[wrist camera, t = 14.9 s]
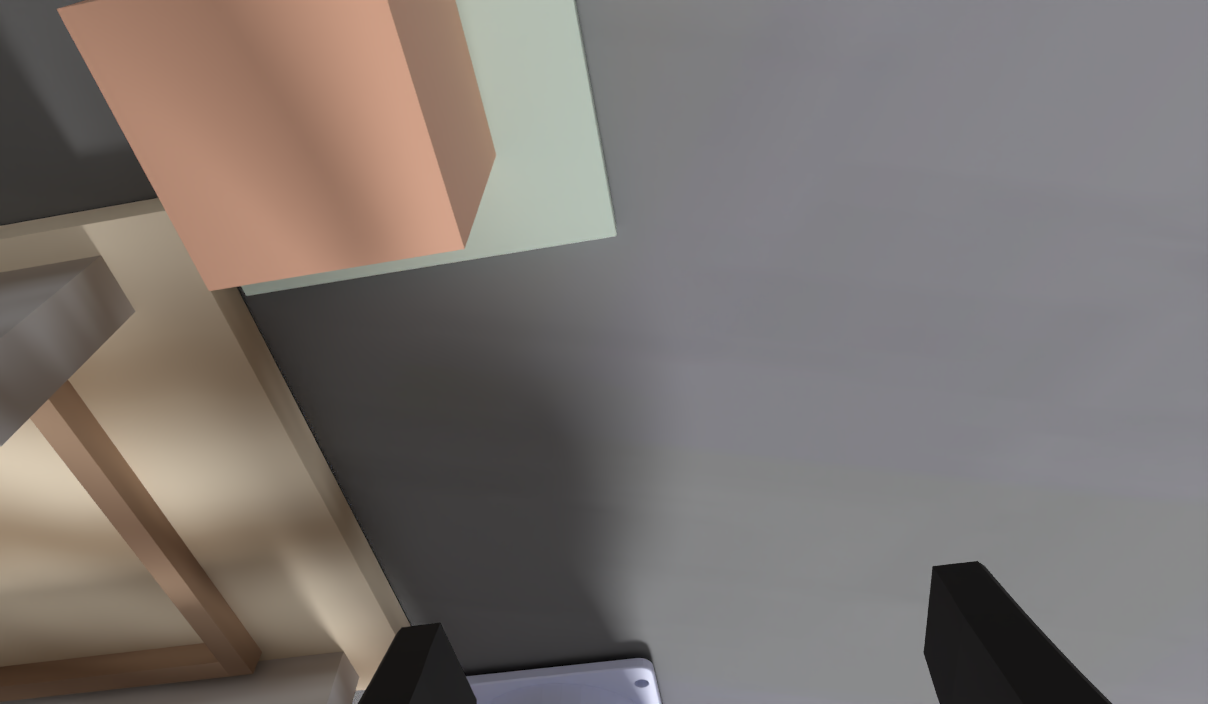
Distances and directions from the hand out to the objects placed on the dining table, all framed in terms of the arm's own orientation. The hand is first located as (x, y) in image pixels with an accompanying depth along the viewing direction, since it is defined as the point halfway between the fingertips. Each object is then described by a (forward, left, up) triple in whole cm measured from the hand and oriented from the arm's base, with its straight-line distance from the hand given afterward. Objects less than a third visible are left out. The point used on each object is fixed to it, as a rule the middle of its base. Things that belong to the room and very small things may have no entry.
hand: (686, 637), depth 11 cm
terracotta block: (+7, +5, -9) cm, 12 cm away
